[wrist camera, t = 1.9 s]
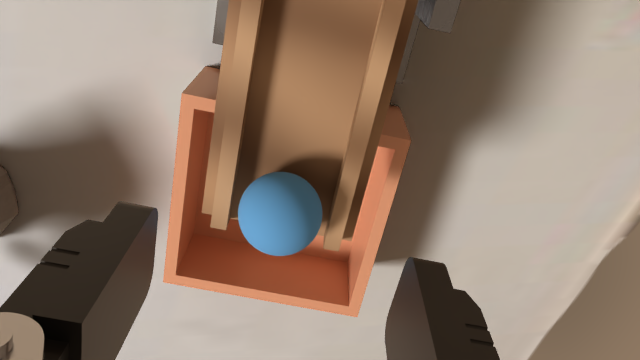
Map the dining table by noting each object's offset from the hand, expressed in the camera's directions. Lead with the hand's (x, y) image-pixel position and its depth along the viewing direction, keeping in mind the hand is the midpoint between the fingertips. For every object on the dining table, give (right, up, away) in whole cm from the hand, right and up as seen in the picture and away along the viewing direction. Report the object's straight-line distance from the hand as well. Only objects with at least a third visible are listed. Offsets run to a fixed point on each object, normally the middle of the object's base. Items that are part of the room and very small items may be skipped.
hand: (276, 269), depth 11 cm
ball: (-1, 0, +14) cm, 14 cm away
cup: (-2, +2, +30) cm, 30 cm away
